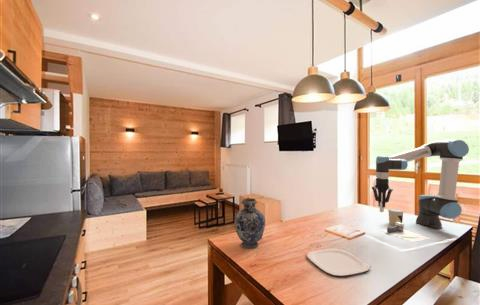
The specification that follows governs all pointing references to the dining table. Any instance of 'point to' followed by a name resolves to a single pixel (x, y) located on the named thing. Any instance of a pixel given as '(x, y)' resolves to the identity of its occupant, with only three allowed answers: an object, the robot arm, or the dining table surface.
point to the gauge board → (407, 235)
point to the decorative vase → (249, 224)
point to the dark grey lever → (396, 227)
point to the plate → (337, 262)
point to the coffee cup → (395, 216)
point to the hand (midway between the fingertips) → (381, 211)
